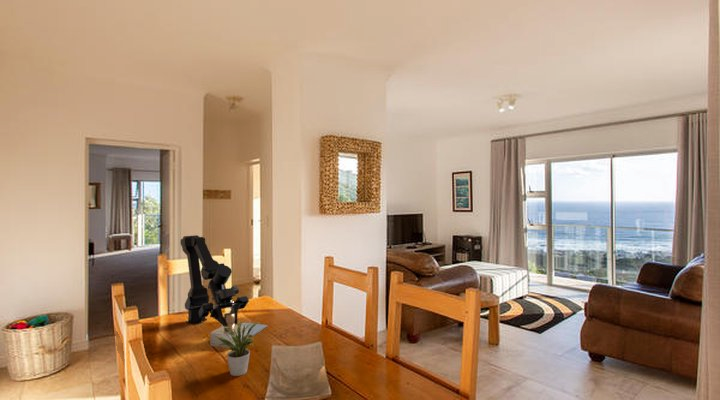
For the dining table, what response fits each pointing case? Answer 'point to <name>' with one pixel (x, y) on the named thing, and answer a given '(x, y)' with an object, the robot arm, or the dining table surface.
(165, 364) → the dining table surface
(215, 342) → the cover
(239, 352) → the house plant
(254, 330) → the mat
